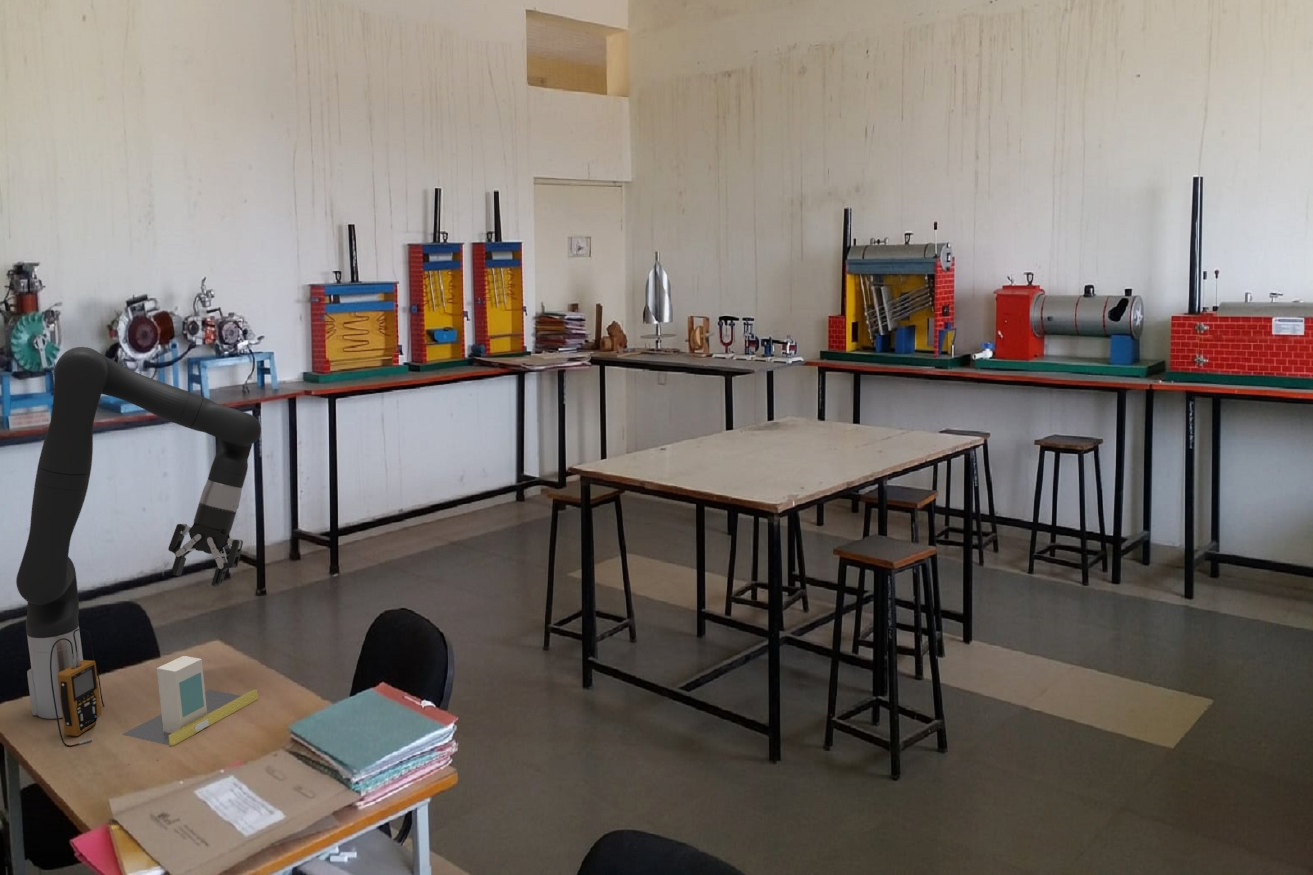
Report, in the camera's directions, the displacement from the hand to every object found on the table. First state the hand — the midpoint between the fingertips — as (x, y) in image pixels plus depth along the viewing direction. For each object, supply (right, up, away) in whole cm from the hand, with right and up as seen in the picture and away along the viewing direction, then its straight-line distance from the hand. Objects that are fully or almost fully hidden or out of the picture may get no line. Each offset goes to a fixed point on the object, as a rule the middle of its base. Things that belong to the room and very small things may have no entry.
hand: (196, 580), depth 222 cm
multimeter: (-14, -28, -11) cm, 33 cm away
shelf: (+3, -27, -9) cm, 29 cm away
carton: (+4, -27, -14) cm, 30 cm away
